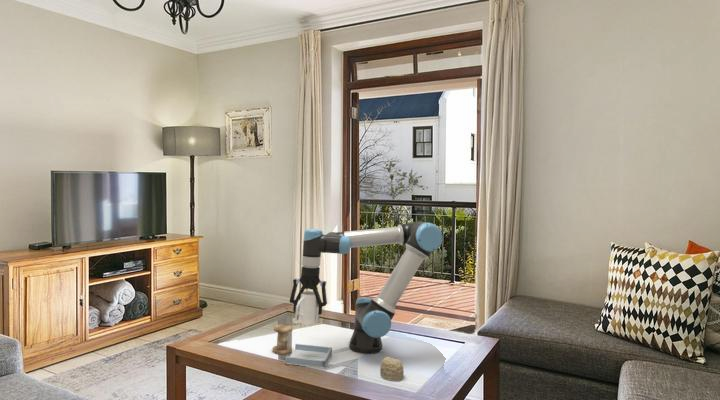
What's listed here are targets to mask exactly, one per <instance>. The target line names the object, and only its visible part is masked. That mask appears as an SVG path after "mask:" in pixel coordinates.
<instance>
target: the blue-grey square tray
mask: <svg viewBox="0 0 720 400" xmlns="http://www.w3.org/2000/svg"><path fill="white" fill-rule="evenodd" d="M289 355H290V356H287V355H286V356H284V359H285V360H284V364H285V363H287V364H295V365H300V366H299V367H301V366H306V367H305V368H313V369H320V370H325V368H326V366H327V364H328V363H329V361H330V359H331V358H332V355H333V347H329V346H322V345H321V346H320V345H313V344H302V343H295V347H294V350H293V352H292V353H291V354H289Z"/></svg>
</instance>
